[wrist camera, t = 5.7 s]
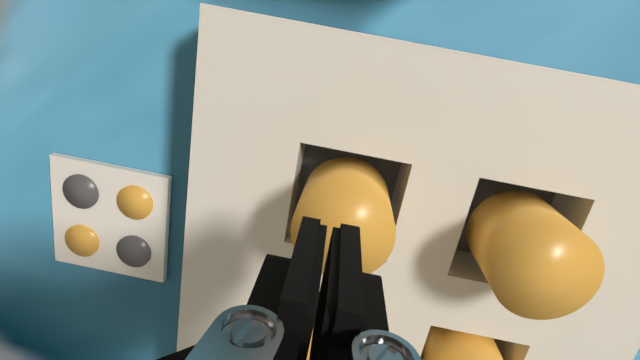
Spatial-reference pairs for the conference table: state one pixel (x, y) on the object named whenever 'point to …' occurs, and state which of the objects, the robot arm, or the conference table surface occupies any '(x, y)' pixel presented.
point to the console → (407, 173)
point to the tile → (110, 216)
